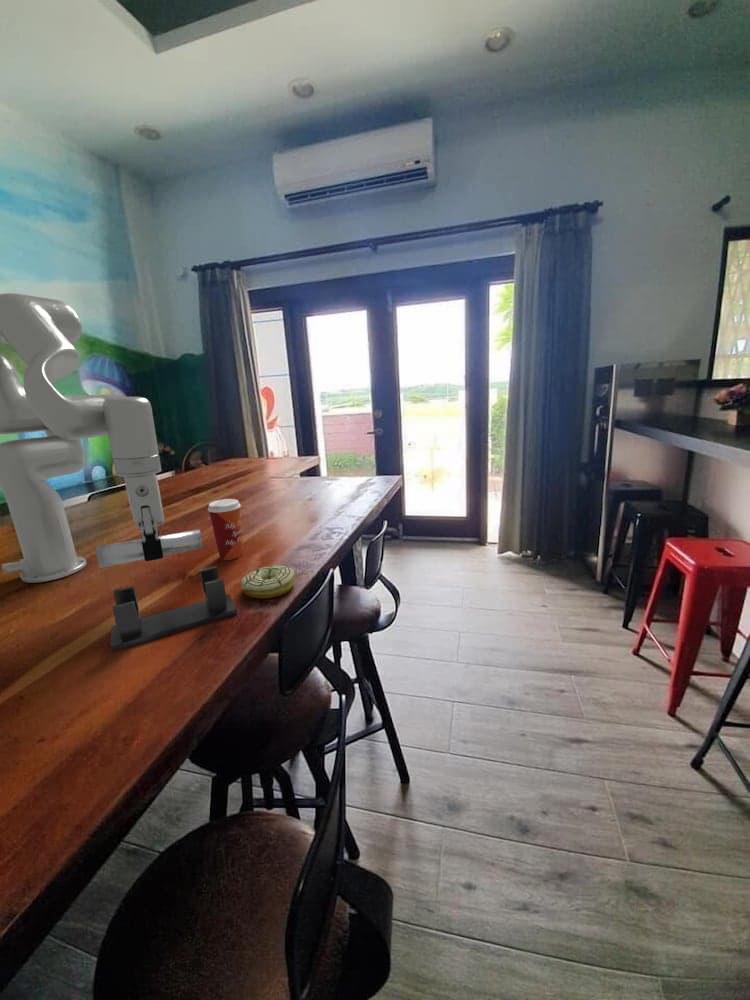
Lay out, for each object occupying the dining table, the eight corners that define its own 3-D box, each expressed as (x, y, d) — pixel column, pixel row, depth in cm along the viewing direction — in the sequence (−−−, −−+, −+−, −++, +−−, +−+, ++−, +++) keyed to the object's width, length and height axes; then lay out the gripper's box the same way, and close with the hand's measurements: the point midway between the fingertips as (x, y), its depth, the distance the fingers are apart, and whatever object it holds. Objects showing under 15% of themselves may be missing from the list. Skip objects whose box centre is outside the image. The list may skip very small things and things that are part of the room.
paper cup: (237, 562, 98) (229, 507, 94) (209, 561, 100) (199, 506, 96) (253, 550, 105) (246, 498, 102) (226, 548, 107) (218, 497, 103)
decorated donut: (253, 578, 90) (251, 562, 89) (301, 577, 89) (299, 561, 88) (235, 602, 80) (232, 584, 79) (288, 601, 79) (286, 583, 78)
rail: (99, 570, 75) (95, 550, 74) (100, 563, 78) (96, 543, 77) (203, 550, 84) (200, 532, 83) (200, 544, 87) (198, 526, 86)
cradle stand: (111, 652, 66) (101, 611, 64) (113, 631, 72) (103, 593, 70) (237, 614, 75) (231, 577, 73) (229, 598, 81) (224, 564, 79)
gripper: (163, 471, 71) (178, 566, 76) (157, 455, 84) (170, 537, 90) (113, 476, 67) (132, 576, 72) (115, 459, 81) (131, 544, 86)
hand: (153, 554), depth 81 cm, fingers closed on rail, 4 cm apart
